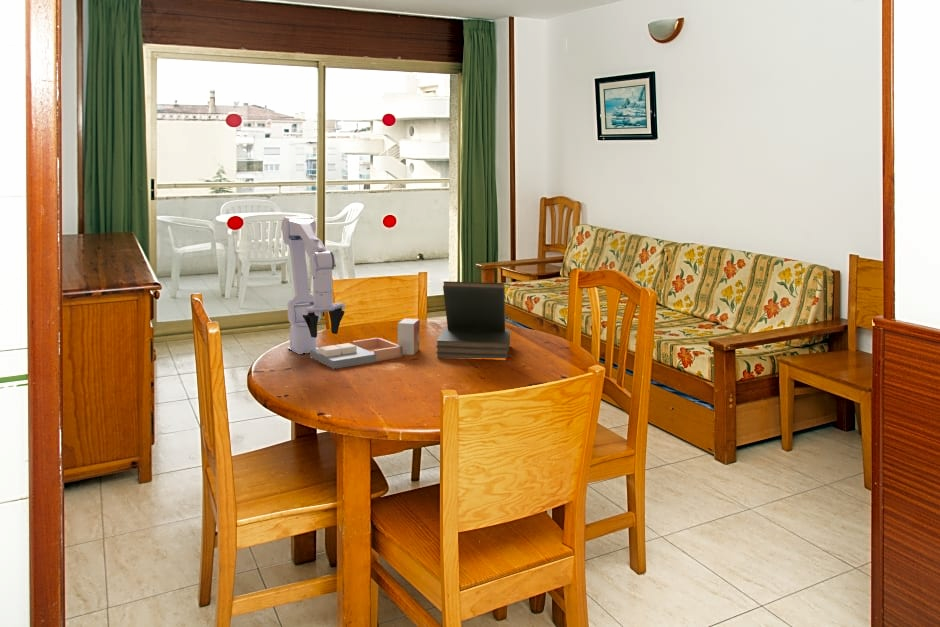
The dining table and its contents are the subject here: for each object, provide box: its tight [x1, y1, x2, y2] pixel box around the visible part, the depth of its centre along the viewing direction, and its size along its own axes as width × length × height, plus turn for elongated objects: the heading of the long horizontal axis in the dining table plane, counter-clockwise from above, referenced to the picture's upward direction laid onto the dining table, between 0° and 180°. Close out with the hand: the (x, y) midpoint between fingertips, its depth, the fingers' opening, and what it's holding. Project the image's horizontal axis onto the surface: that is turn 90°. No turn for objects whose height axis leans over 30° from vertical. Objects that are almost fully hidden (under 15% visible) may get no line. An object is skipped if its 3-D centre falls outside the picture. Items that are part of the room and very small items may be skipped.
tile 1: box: [318, 344, 341, 357], centre depth 249 cm, size 5×5×2 cm
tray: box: [352, 337, 404, 362], centre depth 260 cm, size 15×10×4 cm, turn 37°
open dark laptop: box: [435, 281, 511, 359], centre depth 262 cm, size 23×20×25 cm
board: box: [309, 345, 377, 370], centre depth 252 cm, size 16×15×2 cm
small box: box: [397, 318, 421, 356], centre depth 263 cm, size 8×6×10 cm
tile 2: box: [334, 342, 357, 354], centre depth 252 cm, size 5×5×2 cm
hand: (324, 335), depth 243 cm, fingers open, 7 cm apart
